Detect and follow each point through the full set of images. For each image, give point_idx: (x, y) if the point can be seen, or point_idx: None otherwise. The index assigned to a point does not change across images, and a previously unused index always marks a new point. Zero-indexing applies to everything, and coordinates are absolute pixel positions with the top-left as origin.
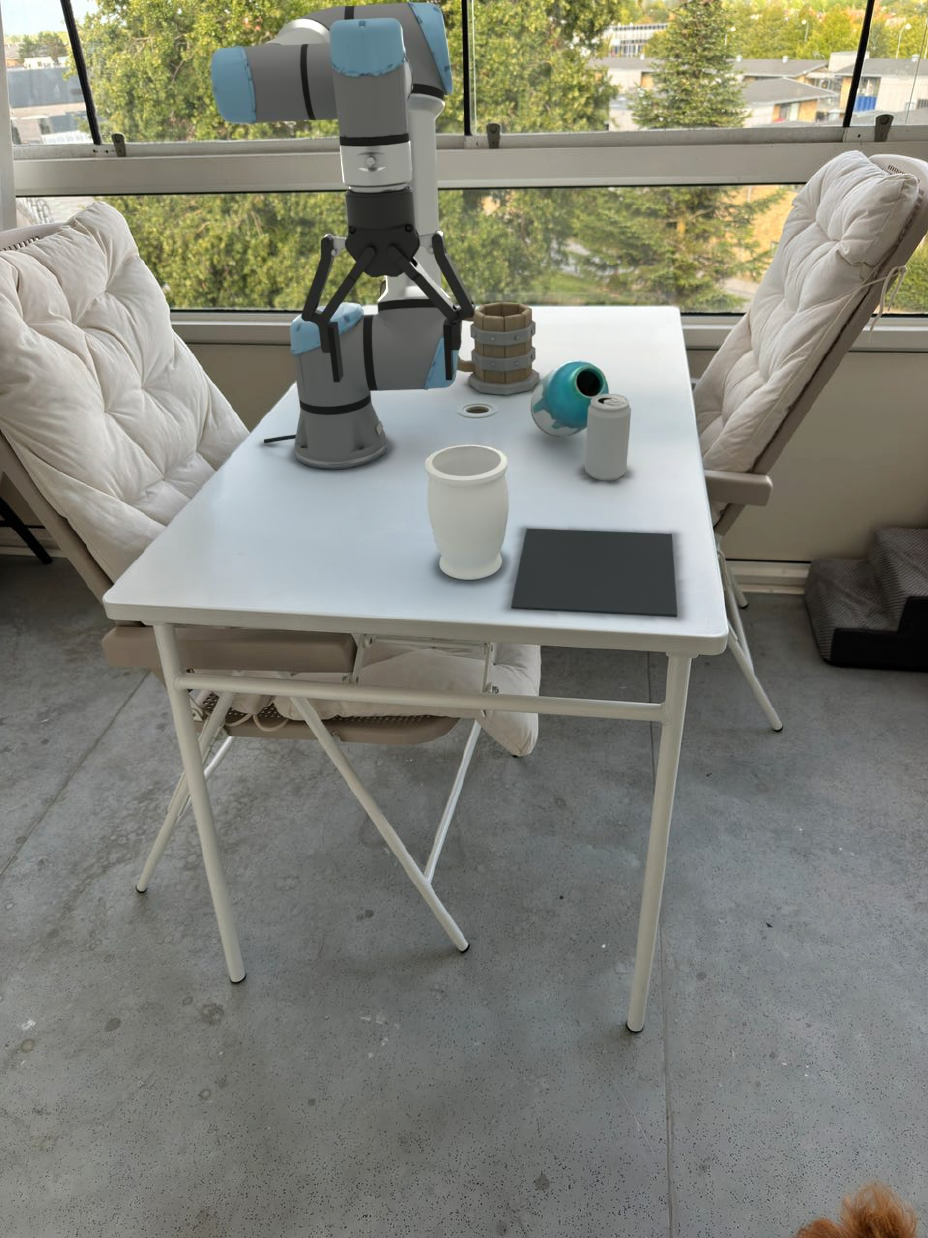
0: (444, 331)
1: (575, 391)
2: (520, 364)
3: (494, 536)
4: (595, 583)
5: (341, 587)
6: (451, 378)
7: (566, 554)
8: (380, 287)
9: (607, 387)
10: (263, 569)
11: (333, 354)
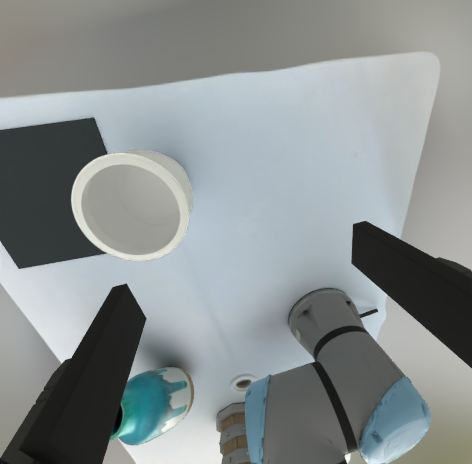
0: (58, 410)
1: (124, 402)
2: (225, 433)
3: (115, 171)
4: (38, 176)
5: (256, 119)
6: (111, 289)
7: None
8: None
9: None
10: (330, 134)
11: (412, 252)
